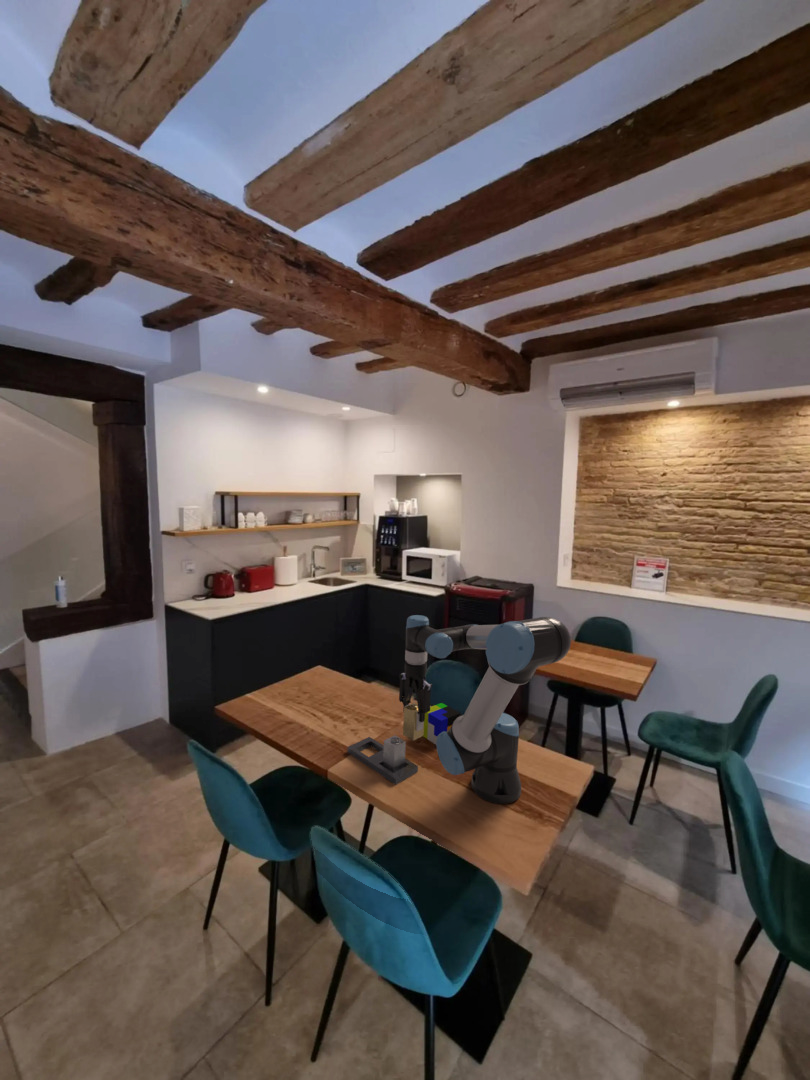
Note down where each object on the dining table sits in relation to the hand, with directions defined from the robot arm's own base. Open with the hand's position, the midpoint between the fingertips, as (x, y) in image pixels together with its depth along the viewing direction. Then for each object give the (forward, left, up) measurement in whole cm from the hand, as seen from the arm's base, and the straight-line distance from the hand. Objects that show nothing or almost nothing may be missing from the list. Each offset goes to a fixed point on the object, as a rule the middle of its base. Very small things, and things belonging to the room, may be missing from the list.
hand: (413, 726), depth 156 cm
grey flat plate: (+4, +11, -10) cm, 16 cm away
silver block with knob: (-2, +11, -10) cm, 15 cm away
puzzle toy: (+1, -16, -10) cm, 19 cm away
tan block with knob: (0, 0, -3) cm, 3 cm away
